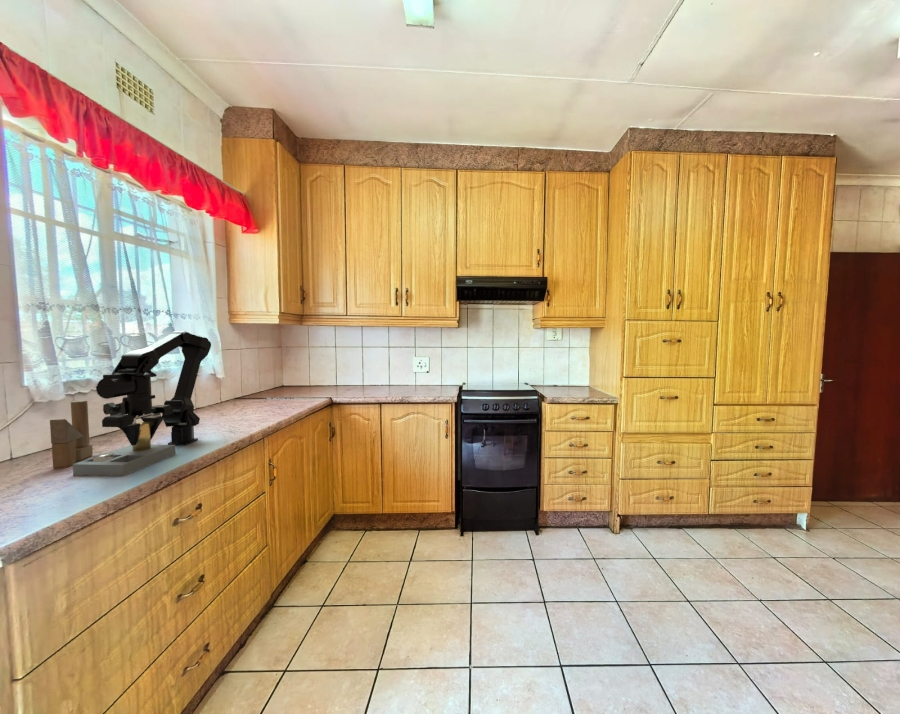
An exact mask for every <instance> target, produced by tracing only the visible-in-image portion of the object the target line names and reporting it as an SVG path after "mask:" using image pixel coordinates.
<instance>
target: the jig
mask: <svg viewBox="0 0 900 714" xmlns="http://www.w3.org/2000/svg"><path fill="white" fill-rule="evenodd" d="M176 448H177V447H176V445H168V444H152V443H151V448H150V449H147V450H143V451H132V445H131V444H130V445H127V446H124V447H121V448H118V449H115V450H111V451H109V452H107V453H114V458H113V459H110V460H107V461H104V462H93V457H91V458H86V459H83V460H81V461H77V462H76V463H75V464H73V465H72V473H73V476H102V477H103V476H109V477H110V476H111V477H112V476H113V477H117V476H118V477H123V476H126V475H128V474H130V473H134V472H136V471H138V470H141V469H142V468H146V467H148V466H150V465H152V464H155V463H158V462H160V461H162V460H165V459H167V458H170V457H172V456H174V455H176V453H177V452H176Z"/></svg>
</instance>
